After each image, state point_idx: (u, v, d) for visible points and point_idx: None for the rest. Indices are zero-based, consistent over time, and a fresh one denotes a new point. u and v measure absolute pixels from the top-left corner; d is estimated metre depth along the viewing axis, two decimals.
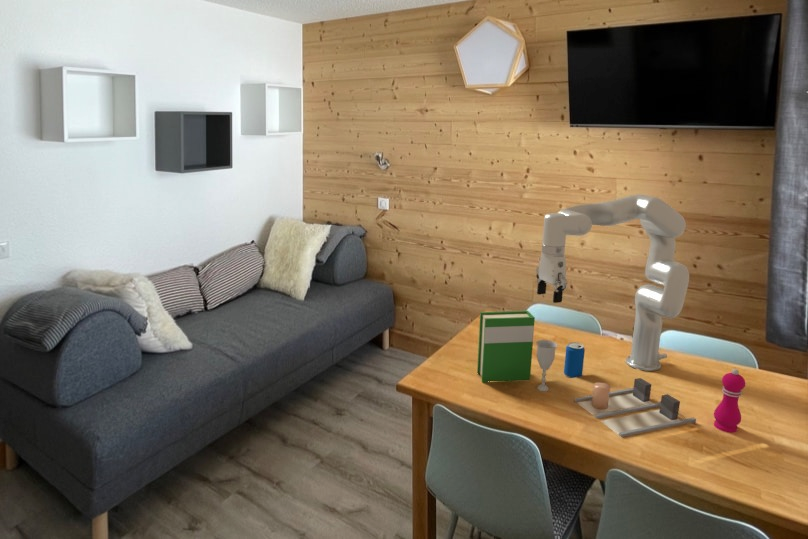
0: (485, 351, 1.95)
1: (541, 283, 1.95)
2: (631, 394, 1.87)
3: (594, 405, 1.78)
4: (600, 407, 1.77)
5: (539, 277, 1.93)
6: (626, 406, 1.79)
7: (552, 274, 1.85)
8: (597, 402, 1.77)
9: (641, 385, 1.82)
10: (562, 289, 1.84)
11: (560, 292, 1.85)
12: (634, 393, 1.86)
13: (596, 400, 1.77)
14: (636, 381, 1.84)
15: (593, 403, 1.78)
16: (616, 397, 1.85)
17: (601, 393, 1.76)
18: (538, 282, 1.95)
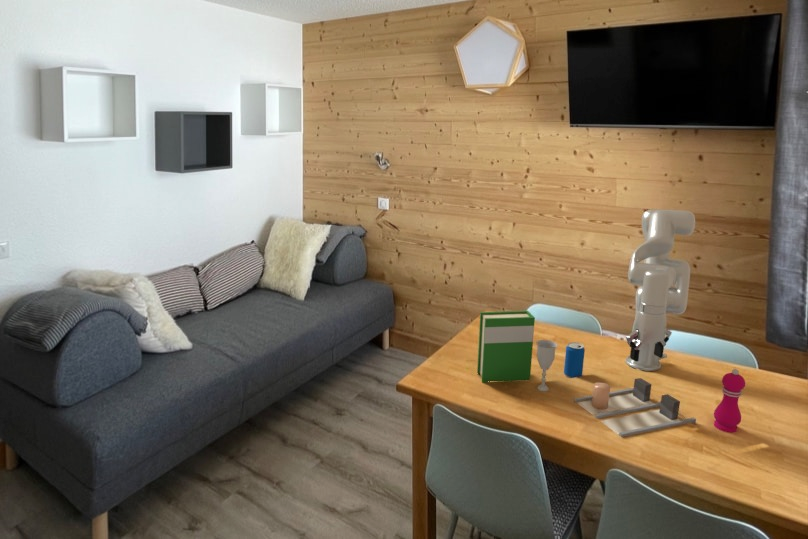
0: (485, 351, 1.95)
1: None
2: (631, 394, 1.87)
3: (594, 405, 1.78)
4: (600, 407, 1.77)
5: (643, 342, 1.76)
6: (626, 406, 1.79)
7: (664, 331, 1.78)
8: (597, 402, 1.77)
9: (641, 385, 1.82)
10: None
11: None
12: (634, 393, 1.86)
13: (596, 400, 1.77)
14: (636, 381, 1.84)
15: (593, 403, 1.78)
16: (616, 397, 1.85)
17: (601, 393, 1.76)
18: (637, 349, 1.77)
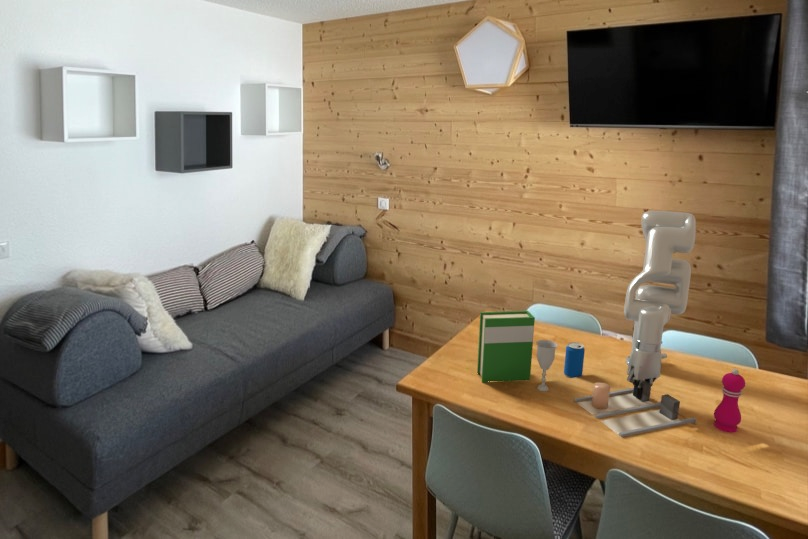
0: (485, 351, 1.95)
1: None
2: (631, 394, 1.87)
3: (594, 405, 1.78)
4: (600, 407, 1.77)
5: (638, 379, 1.80)
6: (626, 406, 1.79)
7: (659, 367, 1.81)
8: (597, 402, 1.77)
9: None
10: None
11: None
12: None
13: (596, 400, 1.77)
14: None
15: (593, 403, 1.78)
16: (616, 397, 1.85)
17: (601, 393, 1.76)
18: (641, 386, 1.82)
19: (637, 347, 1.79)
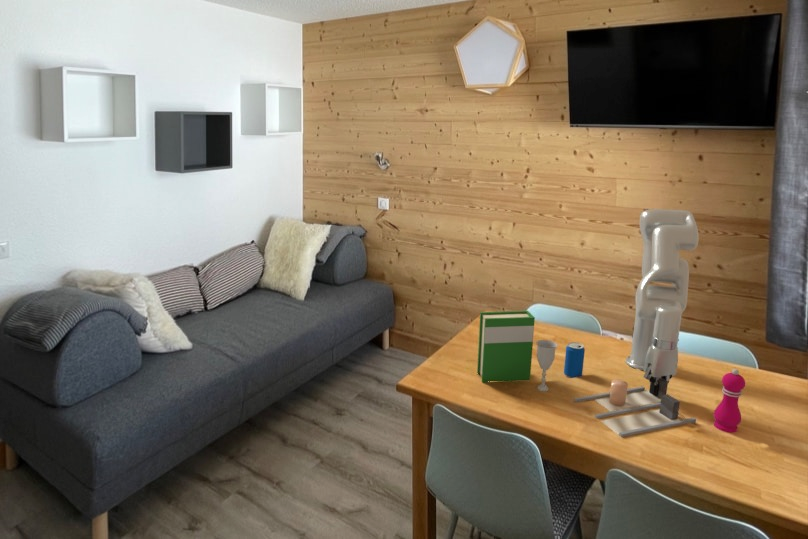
0: (485, 351, 1.95)
1: None
2: (647, 391, 1.89)
3: (612, 402, 1.80)
4: (618, 404, 1.79)
5: (655, 376, 1.82)
6: (643, 403, 1.81)
7: (676, 364, 1.83)
8: (615, 399, 1.79)
9: (658, 382, 1.84)
10: None
11: None
12: None
13: (613, 397, 1.79)
14: None
15: (611, 400, 1.81)
16: (633, 394, 1.87)
17: (619, 390, 1.78)
18: (657, 383, 1.84)
19: (654, 344, 1.81)
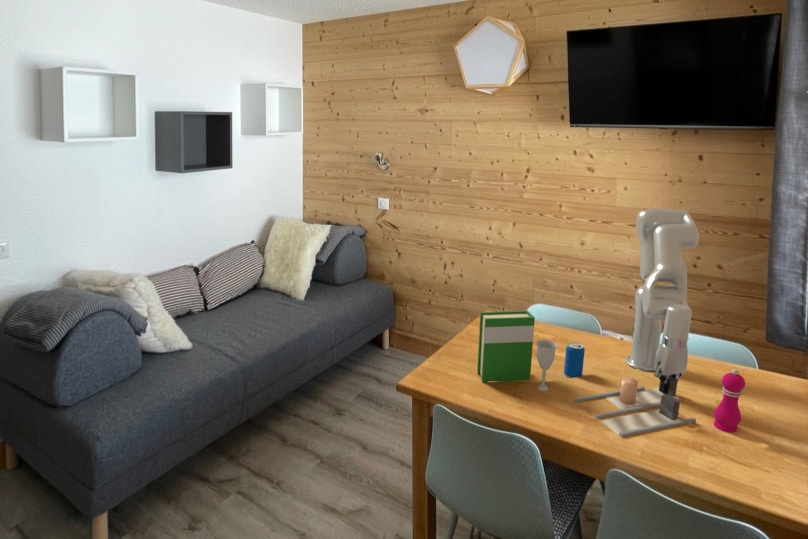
0: (485, 351, 1.95)
1: None
2: (657, 389, 1.91)
3: (622, 400, 1.82)
4: (628, 402, 1.80)
5: (665, 374, 1.83)
6: (653, 401, 1.82)
7: (685, 363, 1.85)
8: (625, 397, 1.81)
9: None
10: None
11: None
12: None
13: (624, 395, 1.81)
14: None
15: (621, 398, 1.82)
16: (643, 392, 1.88)
17: (629, 388, 1.79)
18: (667, 381, 1.85)
19: (664, 343, 1.83)
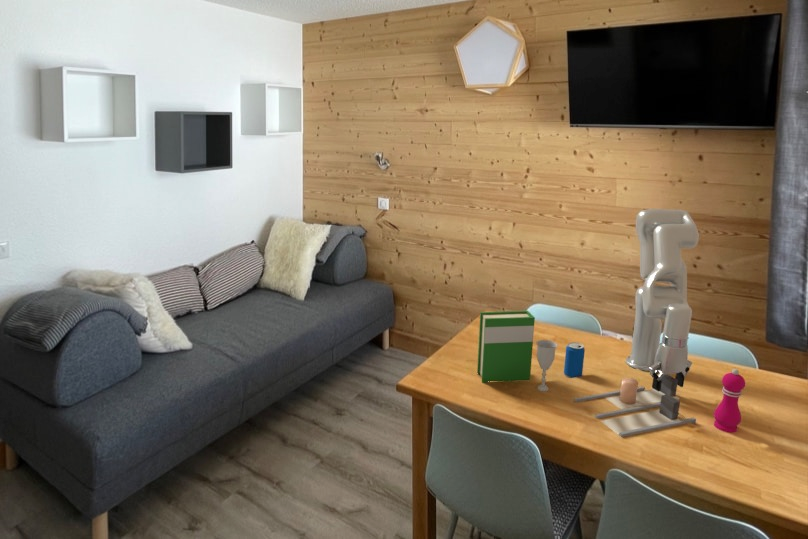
0: (485, 351, 1.95)
1: None
2: None
3: (622, 400, 1.82)
4: (628, 402, 1.80)
5: (665, 373, 1.83)
6: (653, 401, 1.82)
7: (685, 362, 1.85)
8: (625, 397, 1.81)
9: (668, 381, 1.86)
10: None
11: None
12: None
13: (624, 395, 1.81)
14: None
15: (621, 398, 1.82)
16: (643, 392, 1.88)
17: (629, 388, 1.79)
18: (659, 379, 1.84)
19: (664, 342, 1.83)
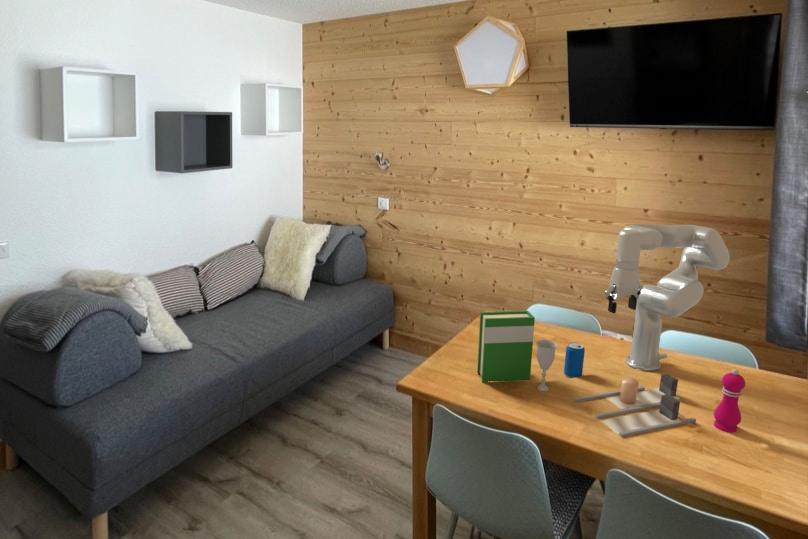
0: (485, 351, 1.95)
1: None
2: (657, 389, 1.91)
3: (622, 400, 1.82)
4: (628, 402, 1.81)
5: (620, 296, 1.95)
6: (654, 401, 1.83)
7: (637, 284, 1.98)
8: (626, 397, 1.81)
9: (668, 381, 1.86)
10: None
11: None
12: (660, 388, 1.89)
13: (624, 395, 1.81)
14: (663, 376, 1.88)
15: (621, 398, 1.82)
16: (643, 392, 1.88)
17: (629, 388, 1.79)
18: (615, 302, 1.96)
19: (618, 266, 1.95)
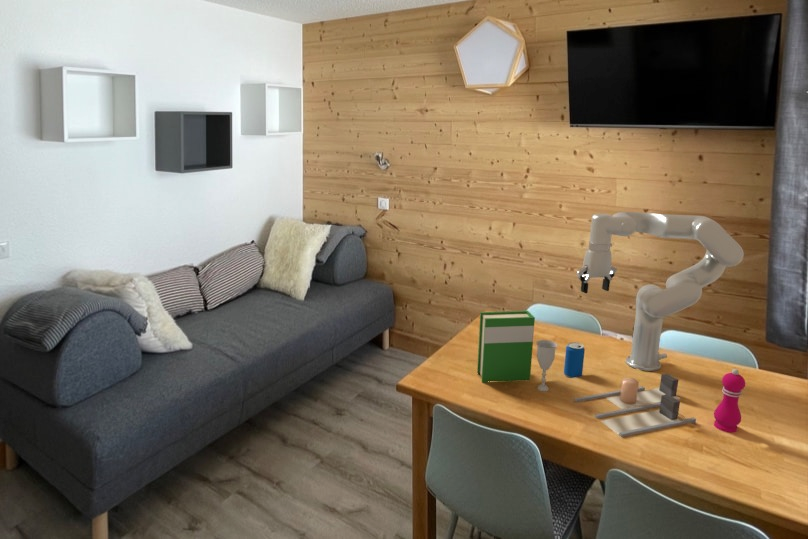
0: (485, 351, 1.95)
1: None
2: (658, 389, 1.91)
3: (623, 400, 1.82)
4: (629, 402, 1.81)
5: (591, 276, 2.05)
6: (654, 401, 1.83)
7: (609, 267, 2.07)
8: (626, 397, 1.81)
9: (668, 380, 1.86)
10: None
11: None
12: (661, 388, 1.89)
13: (624, 395, 1.81)
14: (663, 376, 1.88)
15: (622, 398, 1.82)
16: (643, 392, 1.89)
17: (630, 388, 1.79)
18: (586, 282, 2.06)
19: (590, 248, 2.05)
